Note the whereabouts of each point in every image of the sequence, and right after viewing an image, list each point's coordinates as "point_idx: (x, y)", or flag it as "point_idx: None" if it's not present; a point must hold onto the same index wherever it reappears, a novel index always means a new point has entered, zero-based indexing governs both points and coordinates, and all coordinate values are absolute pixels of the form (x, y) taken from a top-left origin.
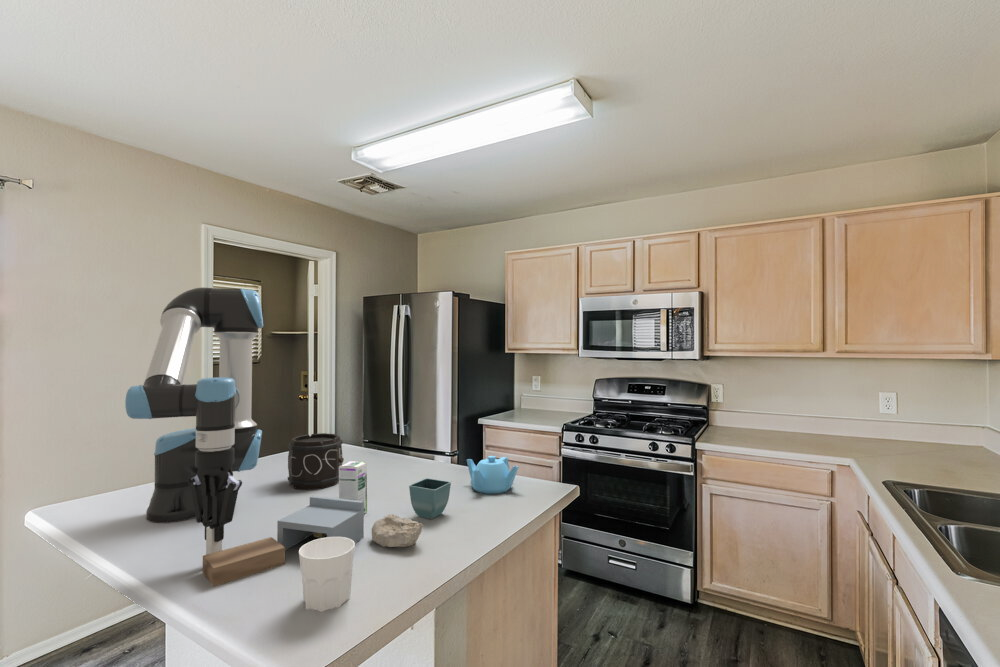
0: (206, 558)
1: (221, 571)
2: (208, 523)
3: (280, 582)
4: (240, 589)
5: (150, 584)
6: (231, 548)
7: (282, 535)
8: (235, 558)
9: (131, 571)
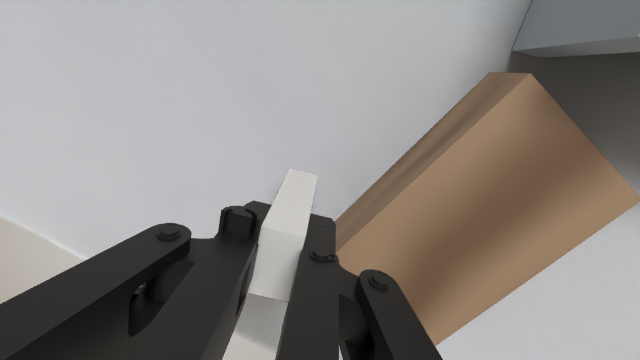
0: None
1: None
2: (245, 294)
3: (600, 295)
4: (487, 331)
5: None
6: (381, 217)
7: (597, 53)
8: (449, 300)
9: (74, 242)
